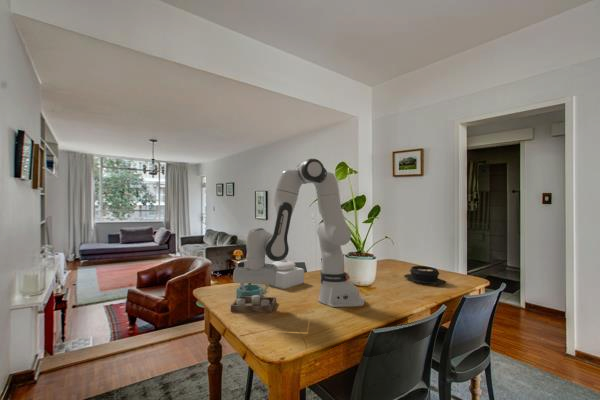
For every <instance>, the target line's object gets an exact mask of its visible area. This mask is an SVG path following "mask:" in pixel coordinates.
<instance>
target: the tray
mask: <svg viewBox="0 0 600 400" xmlns="http://www.w3.org/2000/svg"><path fill="white" fill-rule="evenodd" d="M240 298H243V299H245V305H236V304H237V299H240ZM263 299H267V300H269V306H261V300H263ZM276 304H277V297H275V296H272V297H270V296H261V297H260V305H259V306H252V296H239V297H238V298H237V297H236V299H235V300H234V301H233V303H232V304H231V305H230V312H237V313H238V312H239V313H259V314H261V313H262V314H272V312H273V310H274V308H275V307H276Z"/></svg>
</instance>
